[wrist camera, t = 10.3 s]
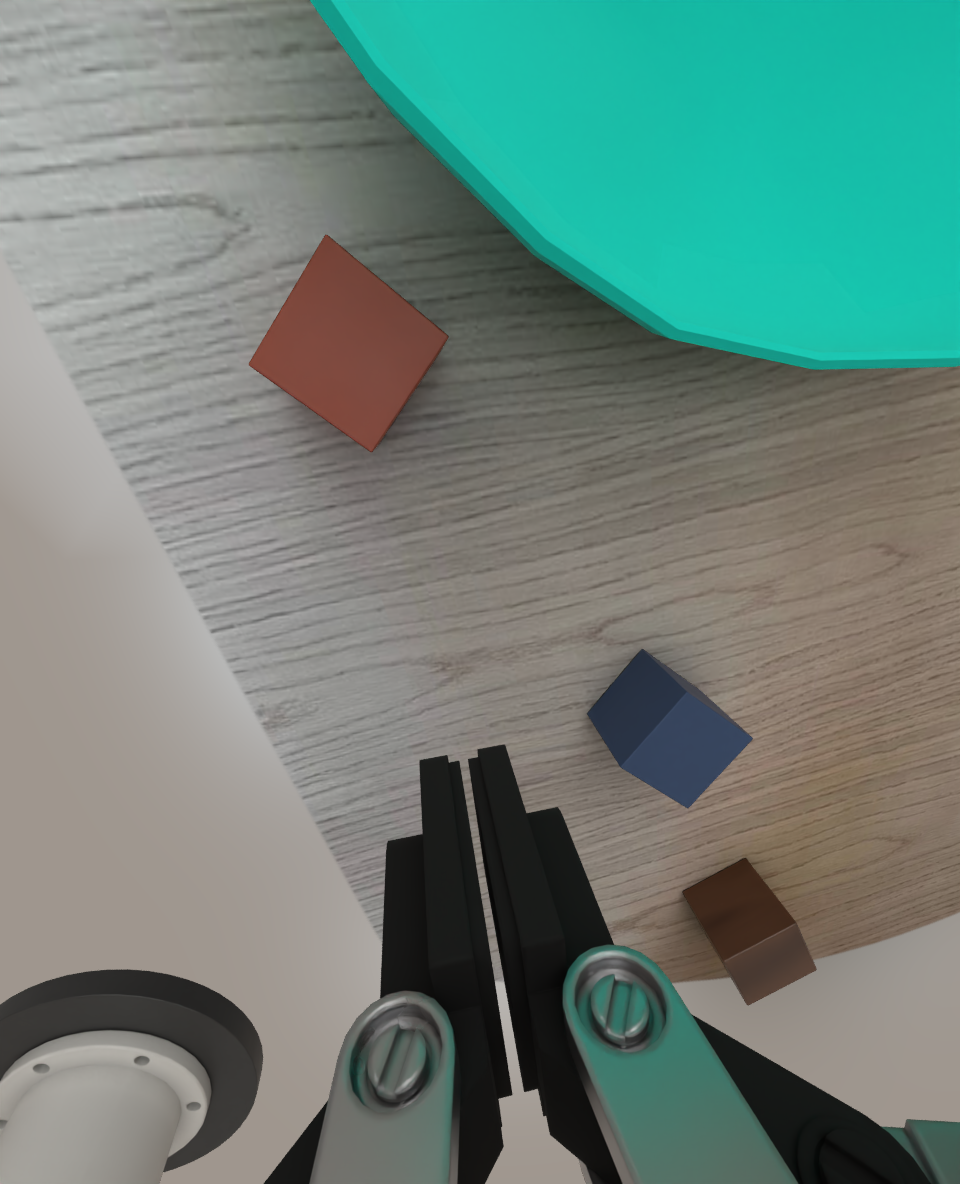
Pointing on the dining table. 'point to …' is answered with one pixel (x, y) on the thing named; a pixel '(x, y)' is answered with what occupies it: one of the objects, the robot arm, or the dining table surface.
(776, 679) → the dining table surface
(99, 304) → the dining table surface
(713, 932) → the walnut block
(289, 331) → the terracotta block
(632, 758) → the slate block
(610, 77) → the table top decor
